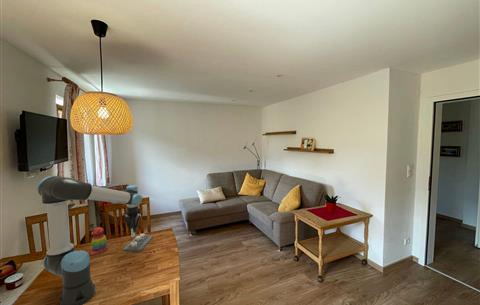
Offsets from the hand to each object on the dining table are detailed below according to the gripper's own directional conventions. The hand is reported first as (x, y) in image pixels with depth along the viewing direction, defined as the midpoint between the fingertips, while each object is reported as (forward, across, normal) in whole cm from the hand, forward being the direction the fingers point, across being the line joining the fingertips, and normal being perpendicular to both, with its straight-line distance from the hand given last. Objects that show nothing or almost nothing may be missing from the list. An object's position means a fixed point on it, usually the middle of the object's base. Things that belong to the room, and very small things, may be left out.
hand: (133, 236), depth 157 cm
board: (+10, 0, -7) cm, 12 cm away
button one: (+8, 0, -1) cm, 8 cm away
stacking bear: (+10, +25, +3) cm, 27 cm away
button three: (+8, 0, -14) cm, 16 cm away
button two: (+7, 0, -7) cm, 10 cm away
